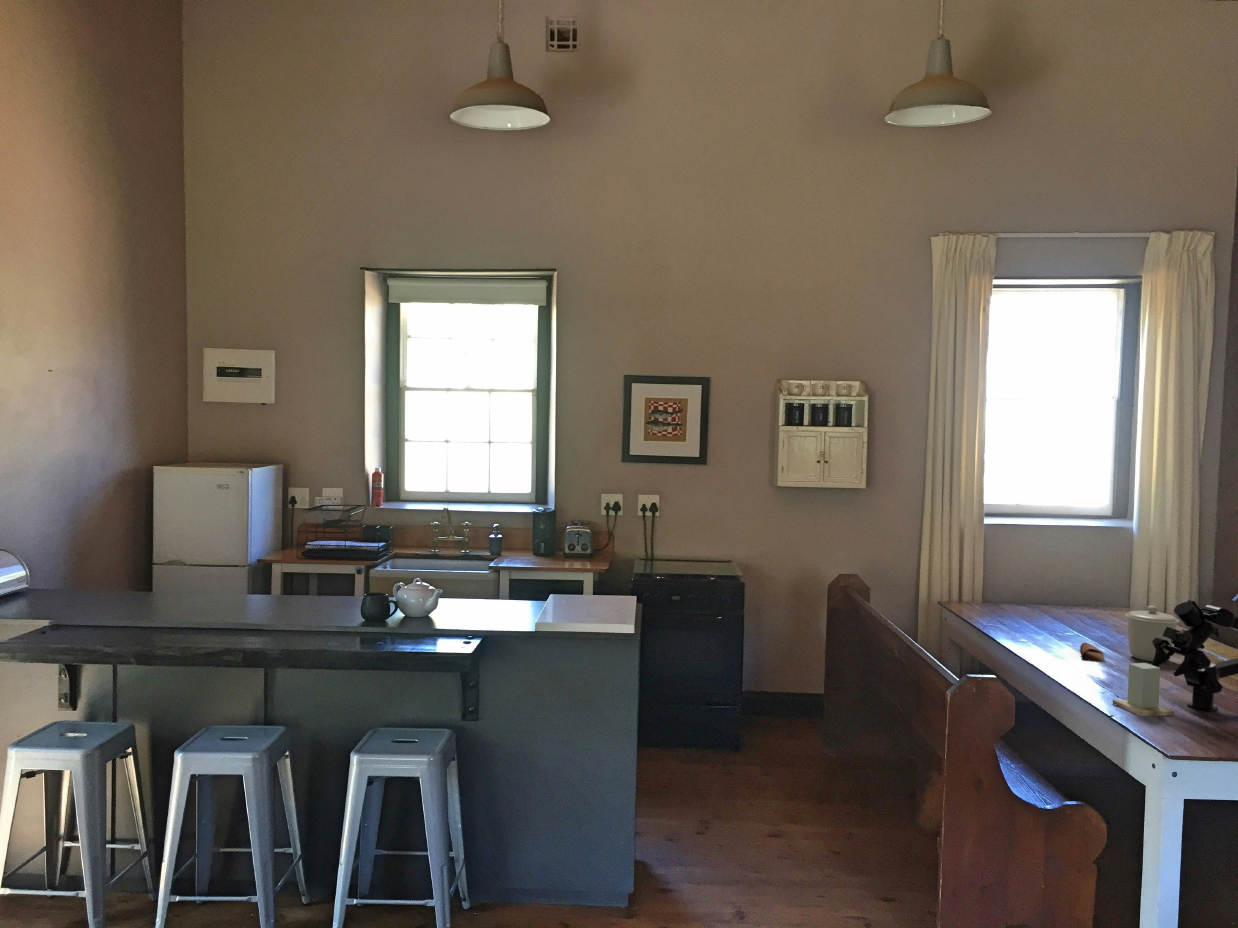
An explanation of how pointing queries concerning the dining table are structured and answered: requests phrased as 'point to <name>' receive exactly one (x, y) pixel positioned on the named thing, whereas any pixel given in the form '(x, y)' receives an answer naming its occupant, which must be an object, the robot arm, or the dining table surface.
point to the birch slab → (1143, 709)
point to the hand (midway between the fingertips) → (1163, 671)
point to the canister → (1147, 631)
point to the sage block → (1143, 685)
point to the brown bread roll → (1091, 653)
